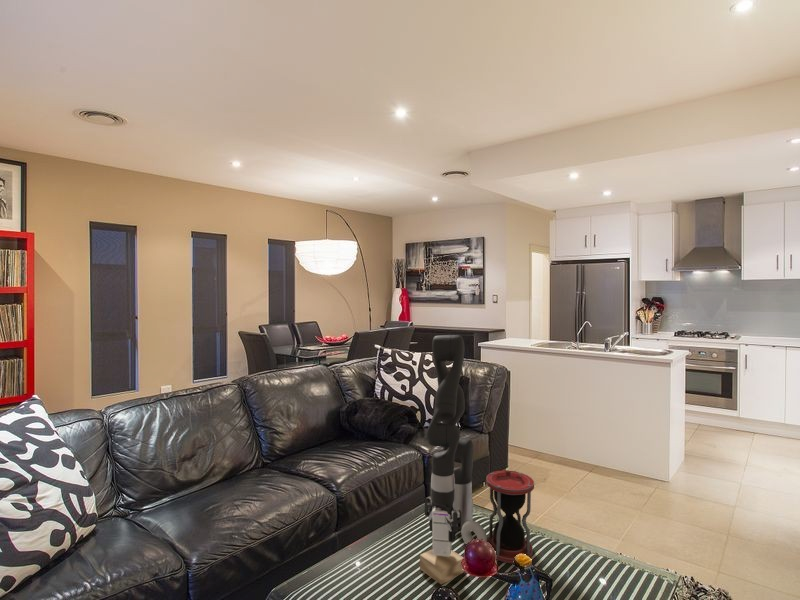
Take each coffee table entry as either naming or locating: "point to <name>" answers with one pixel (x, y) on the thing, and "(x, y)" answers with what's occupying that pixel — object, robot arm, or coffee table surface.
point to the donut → (475, 528)
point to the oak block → (441, 566)
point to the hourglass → (509, 514)
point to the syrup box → (440, 533)
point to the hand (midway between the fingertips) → (442, 535)
